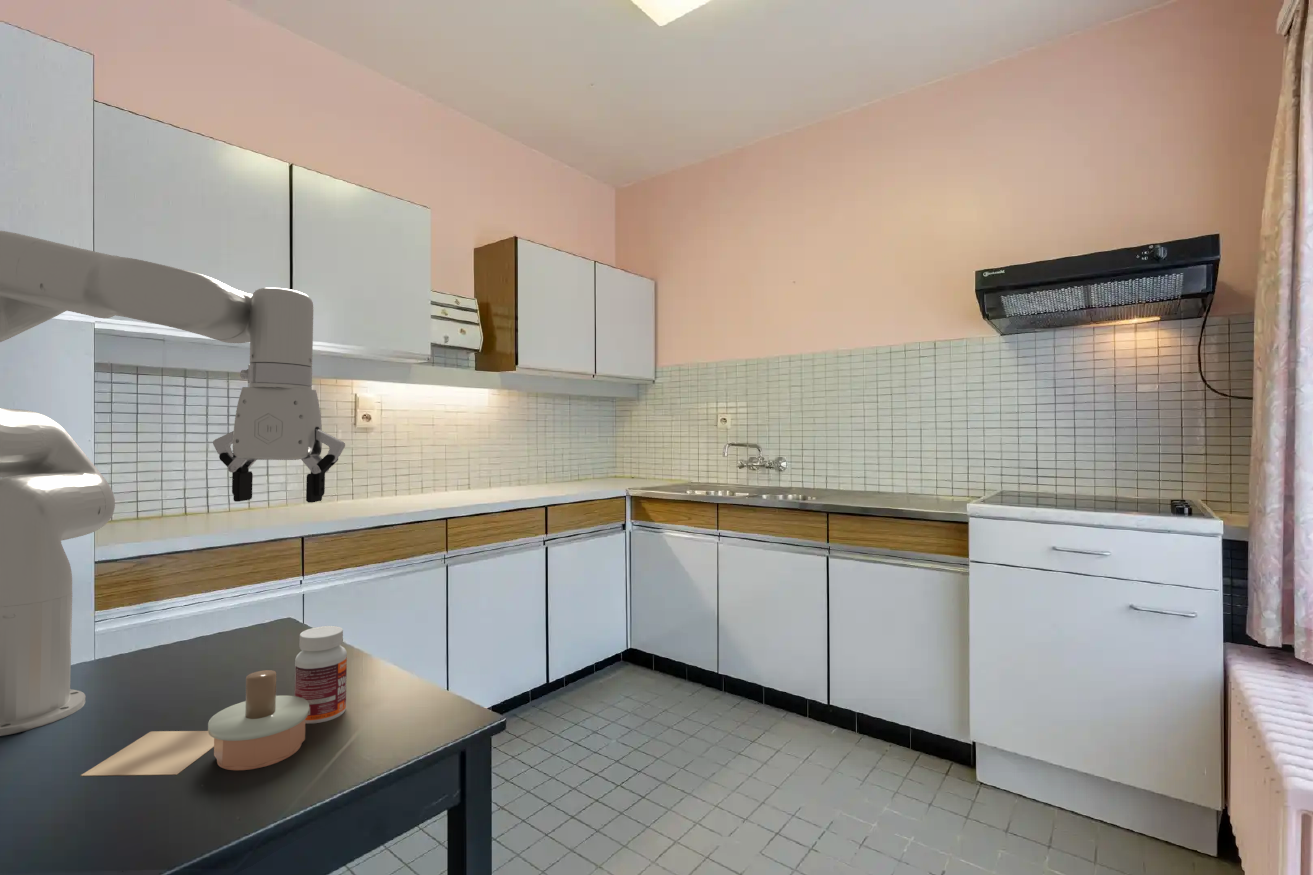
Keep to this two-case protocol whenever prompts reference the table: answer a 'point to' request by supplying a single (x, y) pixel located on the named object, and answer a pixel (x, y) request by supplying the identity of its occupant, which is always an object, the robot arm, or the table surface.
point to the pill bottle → (322, 673)
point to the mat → (156, 754)
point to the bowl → (259, 749)
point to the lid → (258, 711)
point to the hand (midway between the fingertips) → (278, 501)
